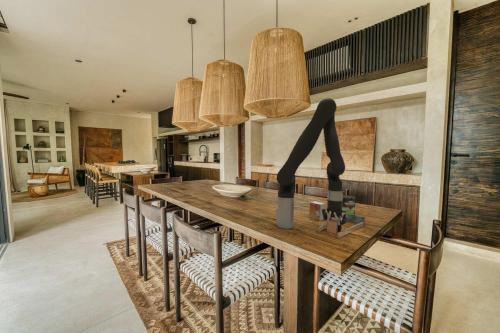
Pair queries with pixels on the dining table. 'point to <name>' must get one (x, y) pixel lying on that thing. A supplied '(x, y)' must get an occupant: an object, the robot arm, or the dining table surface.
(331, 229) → the block
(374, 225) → the dining table surface
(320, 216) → the small box
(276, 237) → the dining table surface
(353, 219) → the guide channel
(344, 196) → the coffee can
